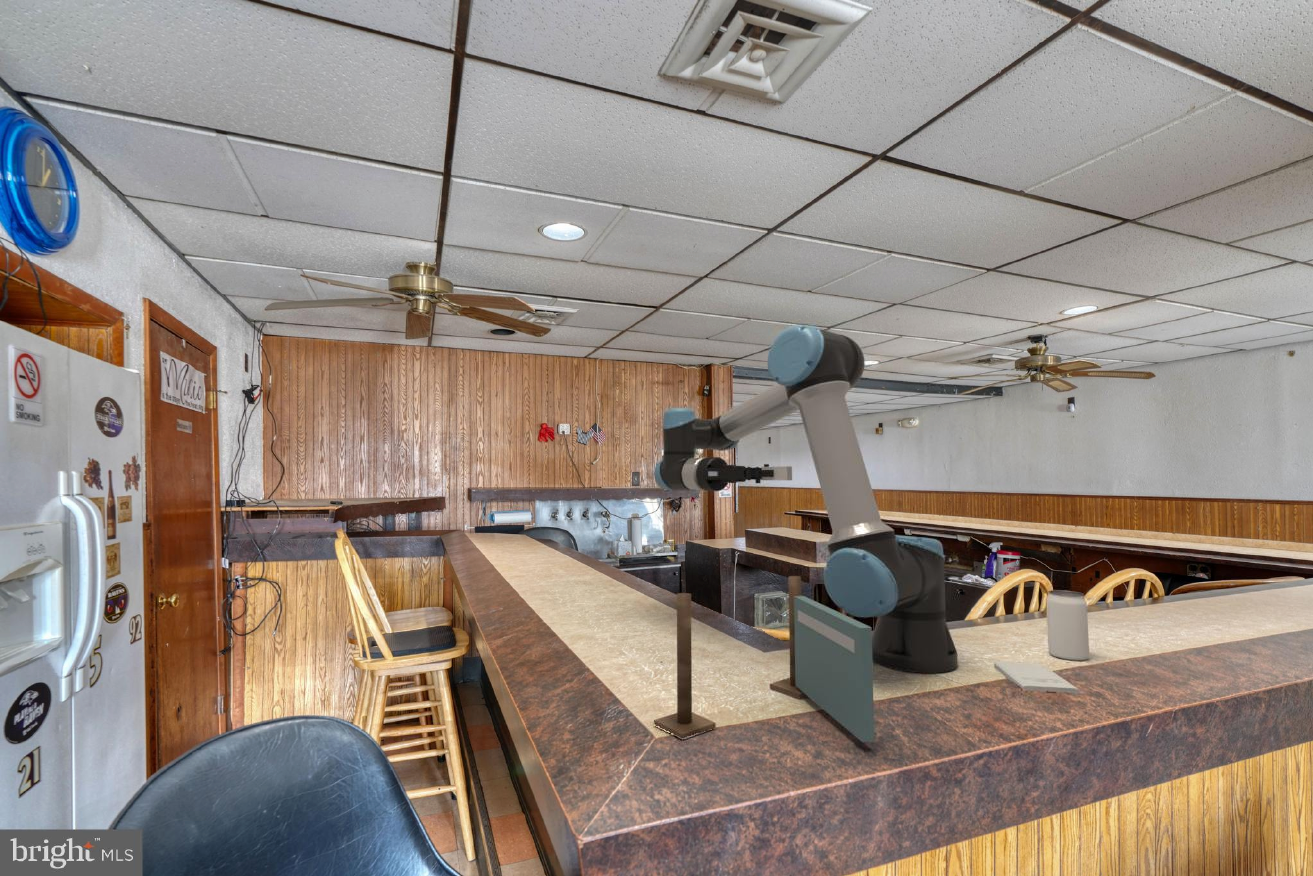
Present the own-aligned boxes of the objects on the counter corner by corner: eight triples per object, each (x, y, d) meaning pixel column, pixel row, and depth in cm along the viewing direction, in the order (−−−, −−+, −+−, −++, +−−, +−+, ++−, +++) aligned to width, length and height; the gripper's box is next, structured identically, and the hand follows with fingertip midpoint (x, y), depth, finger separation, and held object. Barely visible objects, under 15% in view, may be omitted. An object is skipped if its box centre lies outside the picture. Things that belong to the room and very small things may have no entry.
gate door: (795, 685, 96) (793, 596, 97) (805, 685, 97) (803, 595, 97) (862, 742, 76) (859, 628, 77) (874, 741, 76) (871, 627, 77)
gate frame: (793, 681, 102) (792, 572, 103) (823, 690, 97) (821, 577, 98) (653, 726, 84) (653, 593, 85) (682, 740, 79) (681, 600, 80)
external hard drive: (1043, 673, 108) (1079, 698, 96) (994, 670, 109) (1023, 694, 97) (1043, 664, 108) (1079, 687, 96) (993, 661, 109) (1022, 684, 97)
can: (1097, 661, 112) (1094, 596, 113) (1062, 661, 113) (1059, 596, 113) (1074, 651, 119) (1071, 589, 120) (1041, 651, 119) (1038, 589, 120)
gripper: (727, 490, 140) (811, 492, 121) (684, 491, 132) (767, 493, 113) (727, 458, 140) (810, 454, 122) (684, 456, 132) (766, 453, 114)
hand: (789, 473), depth 118 cm, fingers closed
